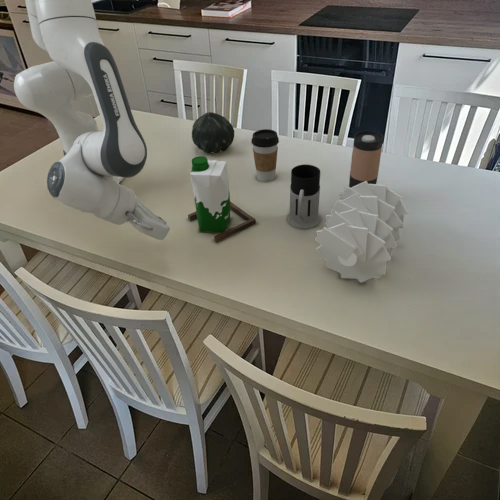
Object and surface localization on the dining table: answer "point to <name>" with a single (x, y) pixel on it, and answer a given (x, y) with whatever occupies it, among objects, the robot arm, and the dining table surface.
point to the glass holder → (304, 196)
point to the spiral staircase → (362, 231)
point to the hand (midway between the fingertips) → (162, 222)
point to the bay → (235, 229)
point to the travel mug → (365, 157)
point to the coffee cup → (265, 153)
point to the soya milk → (211, 194)
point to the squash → (212, 133)
